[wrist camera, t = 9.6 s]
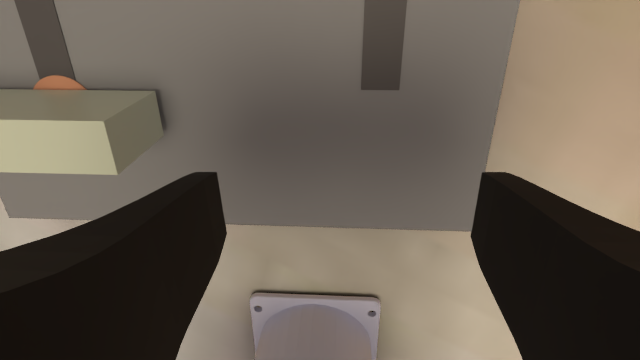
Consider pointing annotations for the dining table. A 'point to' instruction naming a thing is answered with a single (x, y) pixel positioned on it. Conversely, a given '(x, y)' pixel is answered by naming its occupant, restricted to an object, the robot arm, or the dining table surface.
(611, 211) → the dining table surface
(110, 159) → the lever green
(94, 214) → the switch panel
